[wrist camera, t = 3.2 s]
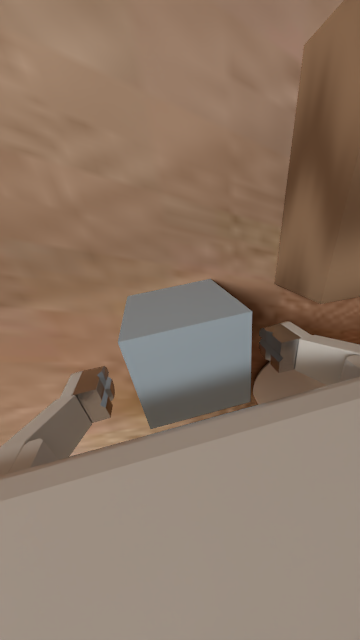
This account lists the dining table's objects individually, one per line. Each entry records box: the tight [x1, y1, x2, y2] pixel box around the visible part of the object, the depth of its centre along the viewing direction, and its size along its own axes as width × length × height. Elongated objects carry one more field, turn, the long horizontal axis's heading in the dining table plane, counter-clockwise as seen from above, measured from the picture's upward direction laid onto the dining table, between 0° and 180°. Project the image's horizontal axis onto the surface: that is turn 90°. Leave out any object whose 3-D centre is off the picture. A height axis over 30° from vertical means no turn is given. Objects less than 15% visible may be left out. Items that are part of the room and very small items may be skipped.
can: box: [253, 361, 327, 405], centre depth 11 cm, size 6×6×12 cm
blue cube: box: [118, 279, 252, 429], centre depth 10 cm, size 5×5×5 cm
